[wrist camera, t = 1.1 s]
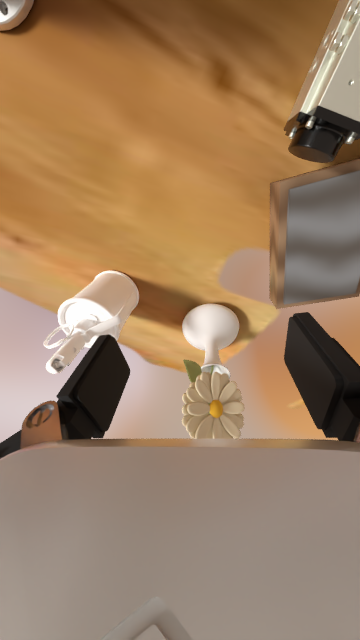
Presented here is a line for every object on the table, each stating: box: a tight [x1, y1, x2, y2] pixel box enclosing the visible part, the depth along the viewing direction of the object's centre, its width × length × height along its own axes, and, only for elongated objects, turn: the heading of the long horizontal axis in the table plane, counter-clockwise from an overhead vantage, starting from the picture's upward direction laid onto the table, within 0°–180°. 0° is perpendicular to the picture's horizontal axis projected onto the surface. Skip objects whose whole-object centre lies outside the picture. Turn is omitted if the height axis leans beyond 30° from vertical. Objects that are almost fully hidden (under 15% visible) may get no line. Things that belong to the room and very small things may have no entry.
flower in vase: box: [182, 304, 244, 439], centre depth 30 cm, size 13×11×25 cm
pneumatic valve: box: [284, 0, 360, 163], centre depth 17 cm, size 6×12×12 cm, turn 164°
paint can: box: [44, 270, 139, 374], centre depth 30 cm, size 10×9×20 cm
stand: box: [270, 158, 360, 309], centre depth 28 cm, size 18×12×5 cm, turn 14°
